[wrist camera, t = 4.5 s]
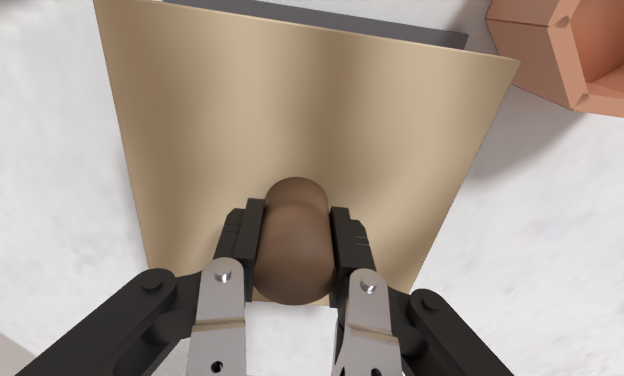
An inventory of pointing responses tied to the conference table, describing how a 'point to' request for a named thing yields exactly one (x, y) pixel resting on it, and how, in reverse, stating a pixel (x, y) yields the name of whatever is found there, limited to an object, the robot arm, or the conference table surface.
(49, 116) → the conference table surface
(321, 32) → the oak lid
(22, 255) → the conference table surface
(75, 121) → the conference table surface
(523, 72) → the terracotta bowl
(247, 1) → the rubber mat
